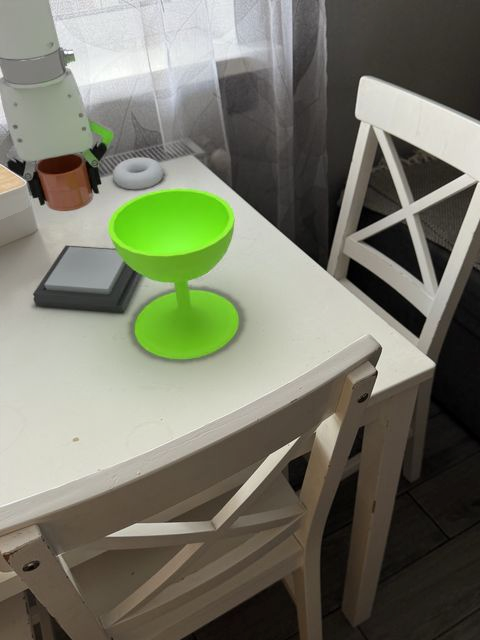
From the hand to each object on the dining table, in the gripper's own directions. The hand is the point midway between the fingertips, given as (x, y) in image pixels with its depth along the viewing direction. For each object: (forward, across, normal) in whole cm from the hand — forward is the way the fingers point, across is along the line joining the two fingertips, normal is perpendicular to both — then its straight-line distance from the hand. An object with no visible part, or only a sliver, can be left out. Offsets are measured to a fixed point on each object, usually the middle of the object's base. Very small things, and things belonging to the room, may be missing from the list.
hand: (68, 194), depth 86 cm
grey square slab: (+13, 0, +2) cm, 13 cm away
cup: (+1, 0, 0) cm, 1 cm away
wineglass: (+16, -11, +17) cm, 26 cm away
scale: (+15, 0, +2) cm, 16 cm away
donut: (+16, -15, -29) cm, 36 cm away
